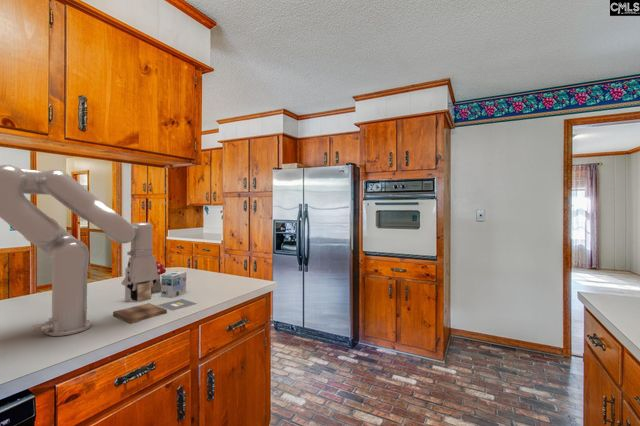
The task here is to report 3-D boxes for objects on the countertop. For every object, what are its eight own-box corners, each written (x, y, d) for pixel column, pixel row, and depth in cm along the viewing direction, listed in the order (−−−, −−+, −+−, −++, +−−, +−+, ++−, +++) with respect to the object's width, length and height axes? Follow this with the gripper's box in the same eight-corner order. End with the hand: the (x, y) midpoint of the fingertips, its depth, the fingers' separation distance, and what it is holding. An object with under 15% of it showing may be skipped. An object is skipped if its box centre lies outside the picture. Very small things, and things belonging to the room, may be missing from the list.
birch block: (138, 302, 121) (138, 284, 120) (131, 299, 123) (132, 282, 123) (151, 299, 125) (151, 282, 125) (144, 297, 127) (144, 280, 127)
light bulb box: (172, 298, 147) (173, 275, 147) (160, 297, 148) (160, 274, 148) (186, 292, 157) (187, 271, 157) (175, 291, 159) (175, 270, 158)
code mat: (172, 311, 129) (172, 310, 129) (156, 305, 135) (156, 305, 135) (197, 304, 139) (197, 303, 139) (182, 299, 146) (182, 298, 146)
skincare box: (138, 302, 139) (138, 268, 139) (123, 302, 139) (124, 267, 139) (148, 297, 148) (148, 264, 147) (134, 296, 148) (135, 264, 147)
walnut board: (130, 323, 114) (130, 319, 114) (113, 315, 122) (113, 311, 122) (166, 313, 126) (166, 309, 126) (148, 306, 134) (148, 303, 134)
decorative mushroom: (154, 288, 164) (154, 260, 163) (169, 289, 163) (169, 260, 162) (141, 293, 154) (141, 263, 153) (157, 294, 153) (158, 264, 153)
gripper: (123, 256, 114) (123, 305, 115) (167, 251, 129) (167, 294, 129) (113, 254, 119) (113, 301, 119) (157, 250, 133) (157, 291, 133)
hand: (141, 297), depth 124 cm, fingers closed on birch block, 5 cm apart
